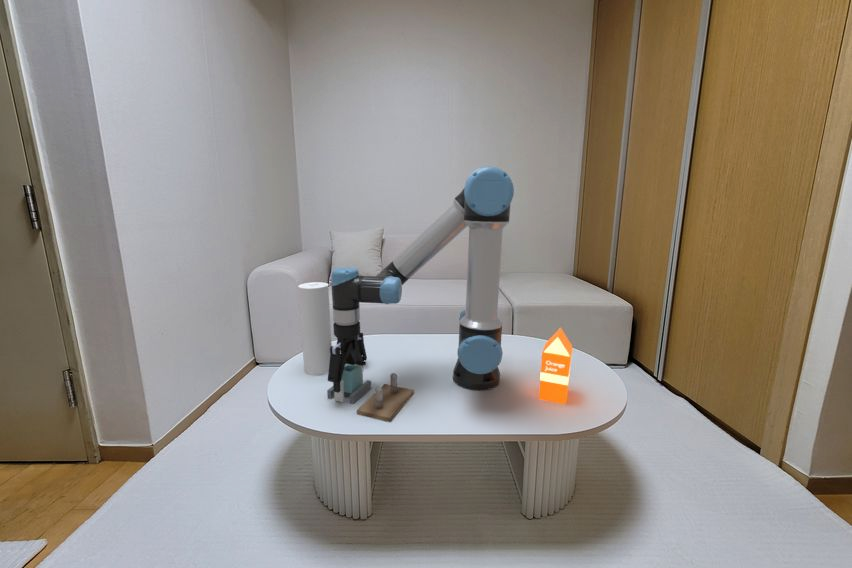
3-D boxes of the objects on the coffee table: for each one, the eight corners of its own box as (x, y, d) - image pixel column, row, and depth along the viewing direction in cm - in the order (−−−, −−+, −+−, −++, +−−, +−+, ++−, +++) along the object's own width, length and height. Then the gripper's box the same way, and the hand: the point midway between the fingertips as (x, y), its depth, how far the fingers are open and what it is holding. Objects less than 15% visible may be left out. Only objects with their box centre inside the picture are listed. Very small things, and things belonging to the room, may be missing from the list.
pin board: (414, 393, 112) (414, 371, 110) (389, 422, 97) (389, 396, 96) (384, 387, 116) (384, 365, 114) (356, 414, 101) (355, 389, 99)
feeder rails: (371, 388, 115) (370, 380, 114) (353, 404, 106) (353, 396, 105) (346, 383, 118) (346, 375, 118) (327, 398, 109) (327, 390, 109)
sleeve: (361, 390, 113) (360, 366, 112) (352, 398, 109) (351, 373, 107) (347, 387, 115) (346, 363, 113) (338, 395, 111) (336, 370, 109)
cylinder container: (315, 377, 122) (309, 288, 115) (298, 370, 127) (292, 284, 121) (338, 367, 129) (334, 283, 122) (321, 361, 134) (316, 279, 128)
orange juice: (538, 399, 109) (543, 334, 105) (542, 385, 117) (546, 325, 113) (566, 404, 106) (572, 338, 102) (568, 390, 114) (574, 328, 110)
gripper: (356, 309, 119) (358, 374, 123) (310, 332, 98) (315, 408, 103) (377, 312, 116) (378, 378, 121) (334, 336, 96) (338, 414, 101)
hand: (349, 392), depth 112 cm, fingers open, 10 cm apart
